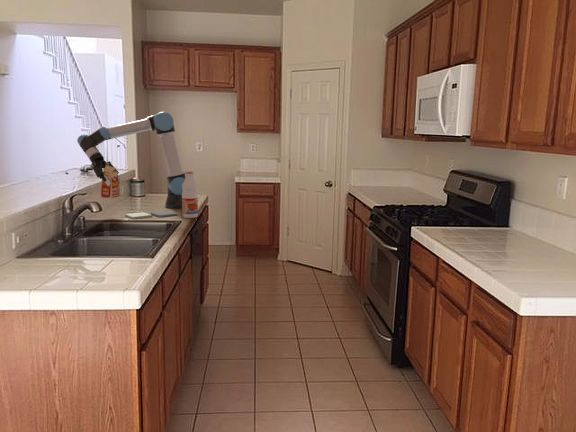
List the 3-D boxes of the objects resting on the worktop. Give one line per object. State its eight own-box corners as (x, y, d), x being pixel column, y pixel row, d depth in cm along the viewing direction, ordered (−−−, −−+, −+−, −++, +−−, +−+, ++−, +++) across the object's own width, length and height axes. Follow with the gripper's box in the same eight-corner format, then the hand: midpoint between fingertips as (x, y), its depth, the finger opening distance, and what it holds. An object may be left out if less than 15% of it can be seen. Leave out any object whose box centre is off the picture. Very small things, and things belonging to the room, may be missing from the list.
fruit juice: (189, 215, 306) (188, 170, 301) (201, 216, 302) (200, 171, 297) (179, 217, 298) (178, 171, 293) (191, 218, 293) (190, 172, 288)
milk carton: (100, 198, 292) (98, 165, 288) (110, 196, 301) (108, 164, 297) (112, 199, 289) (110, 165, 286) (122, 197, 298) (120, 164, 294)
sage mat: (143, 214, 306) (143, 212, 306) (151, 216, 297) (151, 214, 297) (124, 216, 298) (124, 214, 298) (133, 218, 289) (133, 217, 289)
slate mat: (168, 212, 313) (168, 210, 312) (177, 215, 304) (177, 213, 304) (150, 214, 305) (150, 212, 305) (159, 217, 296) (159, 215, 296)
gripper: (105, 159, 308) (125, 186, 303) (78, 161, 290) (98, 190, 285) (111, 151, 304) (131, 178, 299) (83, 152, 286) (104, 181, 282)
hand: (115, 184), depth 292 cm, fingers closed on milk carton, 8 cm apart
